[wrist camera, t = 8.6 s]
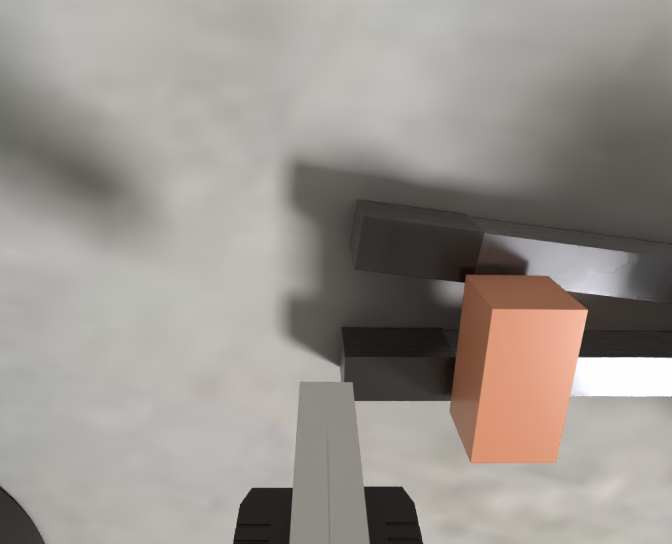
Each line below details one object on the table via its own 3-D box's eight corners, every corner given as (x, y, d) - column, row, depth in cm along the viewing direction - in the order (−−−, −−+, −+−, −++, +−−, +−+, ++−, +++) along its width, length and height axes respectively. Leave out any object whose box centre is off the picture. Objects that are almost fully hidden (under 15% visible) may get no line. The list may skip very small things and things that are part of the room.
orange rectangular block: (449, 411, 21) (470, 463, 18) (466, 274, 19) (492, 308, 16) (523, 411, 21) (556, 462, 18) (547, 275, 19) (588, 309, 16)
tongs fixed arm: (340, 367, 24) (343, 400, 21) (341, 327, 23) (344, 356, 21) (676, 368, 25) (716, 400, 22) (687, 329, 24) (730, 358, 22)
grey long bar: (339, 309, 23) (344, 345, 20) (357, 199, 21) (365, 220, 18) (773, 359, 24) (838, 399, 21) (821, 261, 23) (898, 290, 20)
